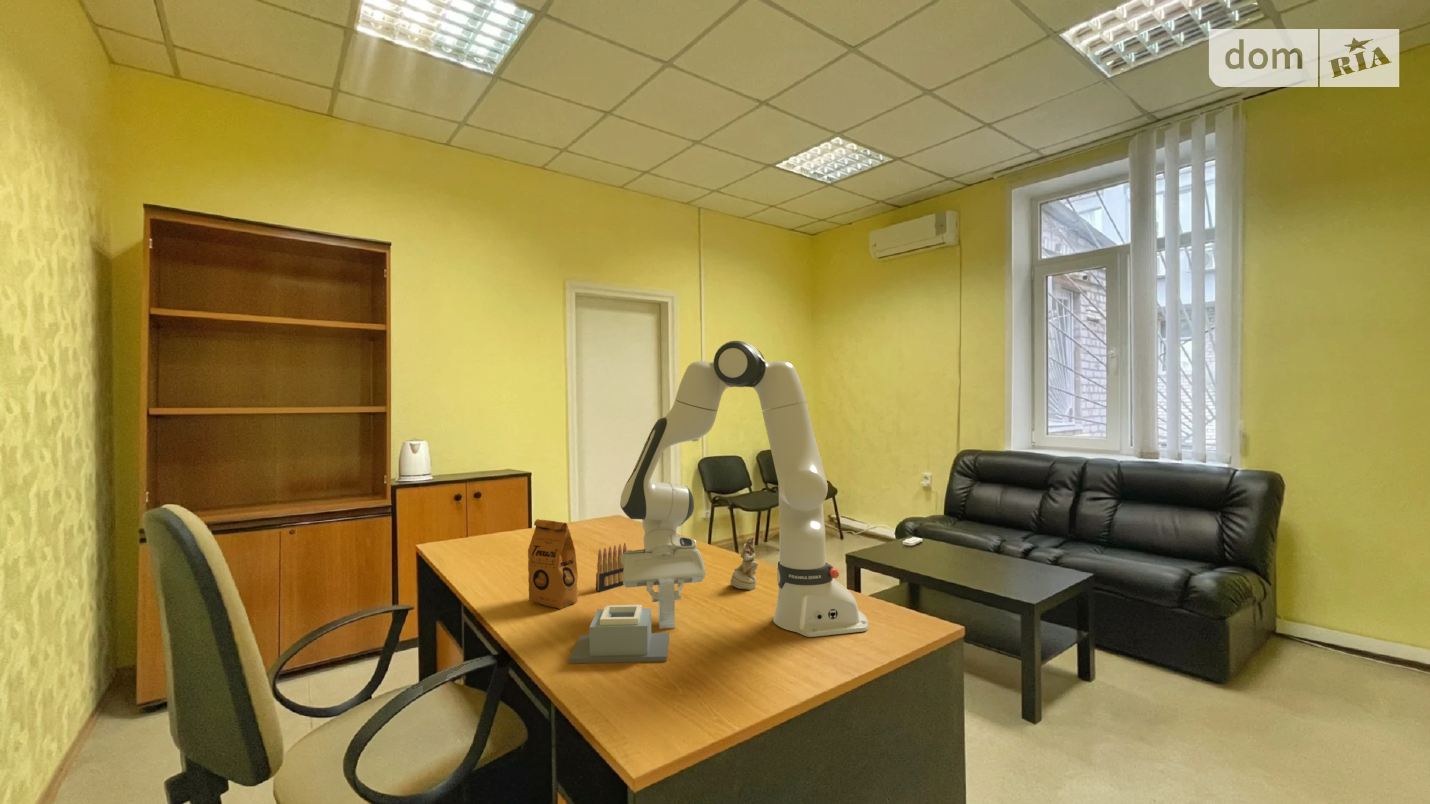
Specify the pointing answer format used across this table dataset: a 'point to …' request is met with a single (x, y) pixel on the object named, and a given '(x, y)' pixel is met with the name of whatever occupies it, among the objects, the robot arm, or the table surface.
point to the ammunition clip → (609, 569)
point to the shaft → (666, 603)
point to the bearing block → (621, 641)
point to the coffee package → (552, 565)
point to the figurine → (746, 568)
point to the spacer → (621, 620)
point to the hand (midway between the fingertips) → (666, 600)
